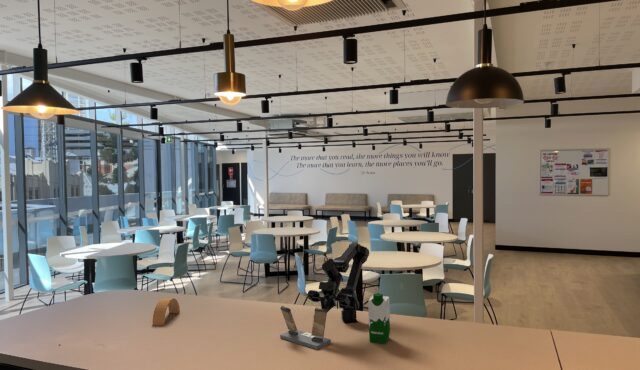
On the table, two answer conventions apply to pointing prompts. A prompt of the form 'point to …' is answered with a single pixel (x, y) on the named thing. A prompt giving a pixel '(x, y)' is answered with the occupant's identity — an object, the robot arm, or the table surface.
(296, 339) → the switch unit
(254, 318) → the table surface
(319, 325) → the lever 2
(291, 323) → the lever
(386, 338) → the milk carton
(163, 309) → the arch
